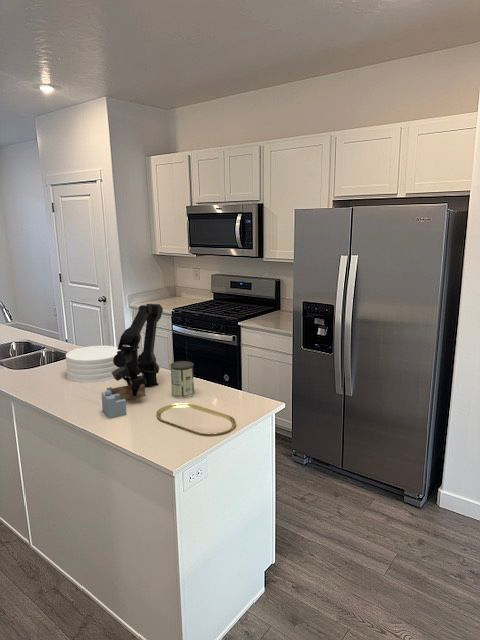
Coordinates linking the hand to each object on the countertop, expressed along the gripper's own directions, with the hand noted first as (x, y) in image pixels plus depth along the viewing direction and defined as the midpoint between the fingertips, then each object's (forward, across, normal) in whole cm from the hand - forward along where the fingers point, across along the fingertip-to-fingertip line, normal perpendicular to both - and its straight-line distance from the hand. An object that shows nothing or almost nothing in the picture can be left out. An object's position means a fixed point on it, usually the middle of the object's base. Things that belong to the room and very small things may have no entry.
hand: (133, 394), depth 197 cm
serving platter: (+2, +37, +12) cm, 39 cm away
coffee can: (+1, +9, +20) cm, 22 cm away
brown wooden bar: (+1, 0, -3) cm, 3 cm away
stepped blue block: (+1, +13, -13) cm, 18 cm away
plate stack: (+1, -42, -5) cm, 42 cm away
